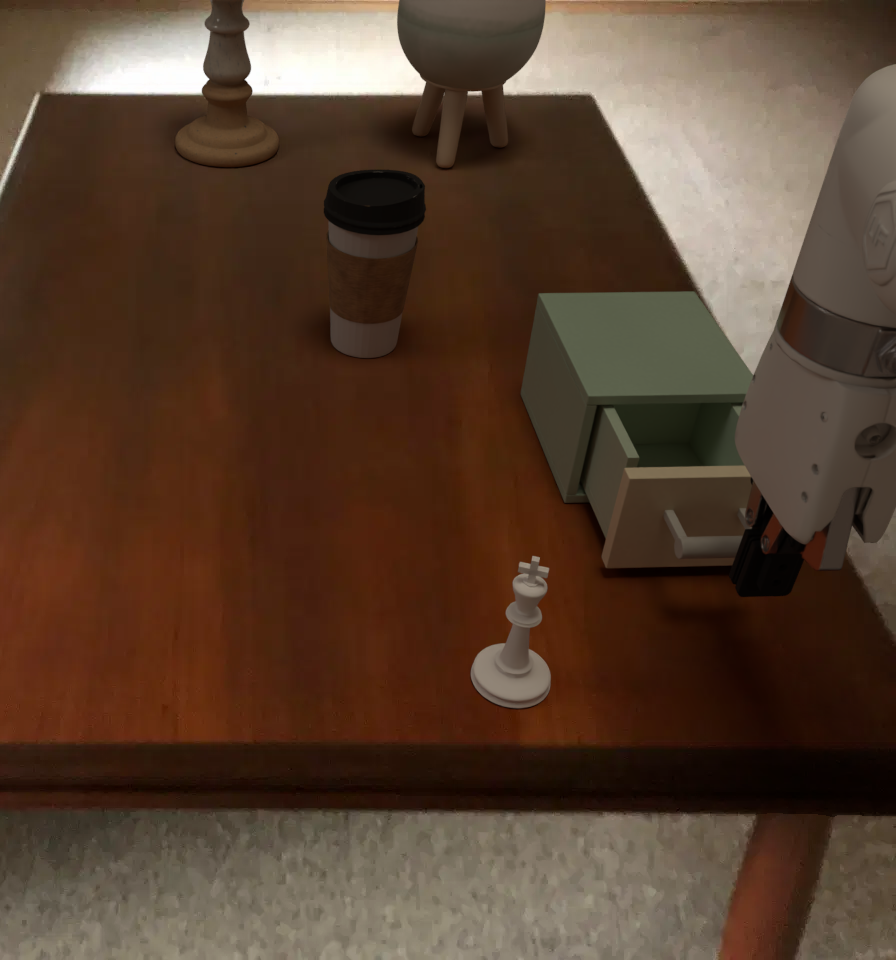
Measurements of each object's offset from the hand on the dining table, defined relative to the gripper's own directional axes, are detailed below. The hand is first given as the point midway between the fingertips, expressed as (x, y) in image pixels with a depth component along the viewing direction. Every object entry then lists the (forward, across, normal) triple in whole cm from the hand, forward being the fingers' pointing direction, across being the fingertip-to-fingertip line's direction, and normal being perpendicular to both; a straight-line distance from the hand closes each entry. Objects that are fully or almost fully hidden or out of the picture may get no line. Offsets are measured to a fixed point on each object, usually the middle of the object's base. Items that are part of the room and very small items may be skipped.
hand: (758, 586), depth 71 cm
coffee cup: (+7, +40, +18) cm, 45 cm away
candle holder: (+8, +84, +29) cm, 90 cm away
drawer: (+6, +13, 0) cm, 14 cm away
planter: (+8, +83, +2) cm, 84 cm away
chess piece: (+7, -1, +14) cm, 16 cm away
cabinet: (+7, +24, 0) cm, 25 cm away
